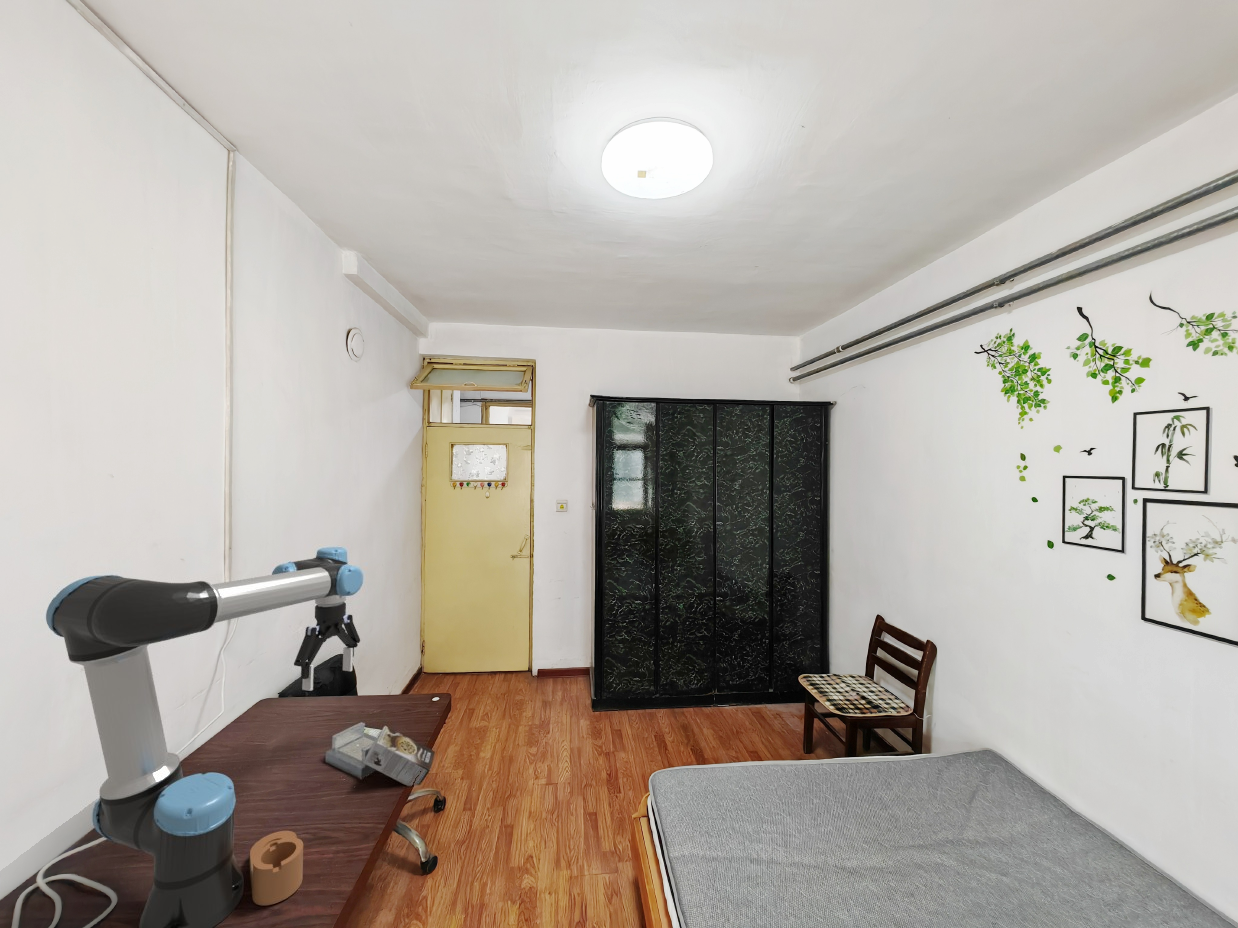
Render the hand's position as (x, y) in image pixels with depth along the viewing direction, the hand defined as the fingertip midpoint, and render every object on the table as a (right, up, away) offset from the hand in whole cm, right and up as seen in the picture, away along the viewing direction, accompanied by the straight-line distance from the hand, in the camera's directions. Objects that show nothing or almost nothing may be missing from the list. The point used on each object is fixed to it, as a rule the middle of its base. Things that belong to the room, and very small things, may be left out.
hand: (328, 679), depth 139 cm
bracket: (+9, -25, -35) cm, 44 cm away
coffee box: (+15, -15, -5) cm, 22 cm away
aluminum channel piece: (+7, -25, +4) cm, 26 cm away
